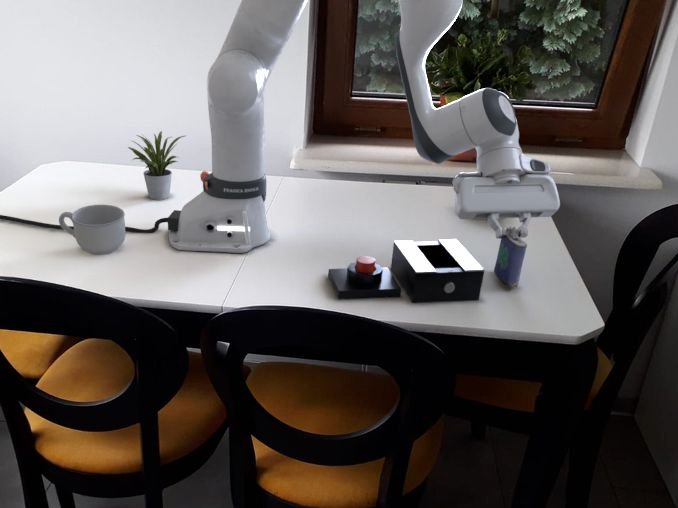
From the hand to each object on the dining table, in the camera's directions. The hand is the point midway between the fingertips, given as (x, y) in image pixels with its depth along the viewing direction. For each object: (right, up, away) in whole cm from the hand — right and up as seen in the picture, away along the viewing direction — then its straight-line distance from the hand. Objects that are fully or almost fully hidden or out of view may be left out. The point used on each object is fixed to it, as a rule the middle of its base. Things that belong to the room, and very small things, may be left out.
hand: (512, 237), depth 136 cm
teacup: (-84, 0, +14) cm, 86 cm away
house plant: (-75, +18, +45) cm, 89 cm away
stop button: (-29, -7, -1) cm, 30 cm away
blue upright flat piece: (0, -8, +4) cm, 9 cm away
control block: (-29, -10, 0) cm, 30 cm away
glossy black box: (-15, -9, +2) cm, 18 cm away
